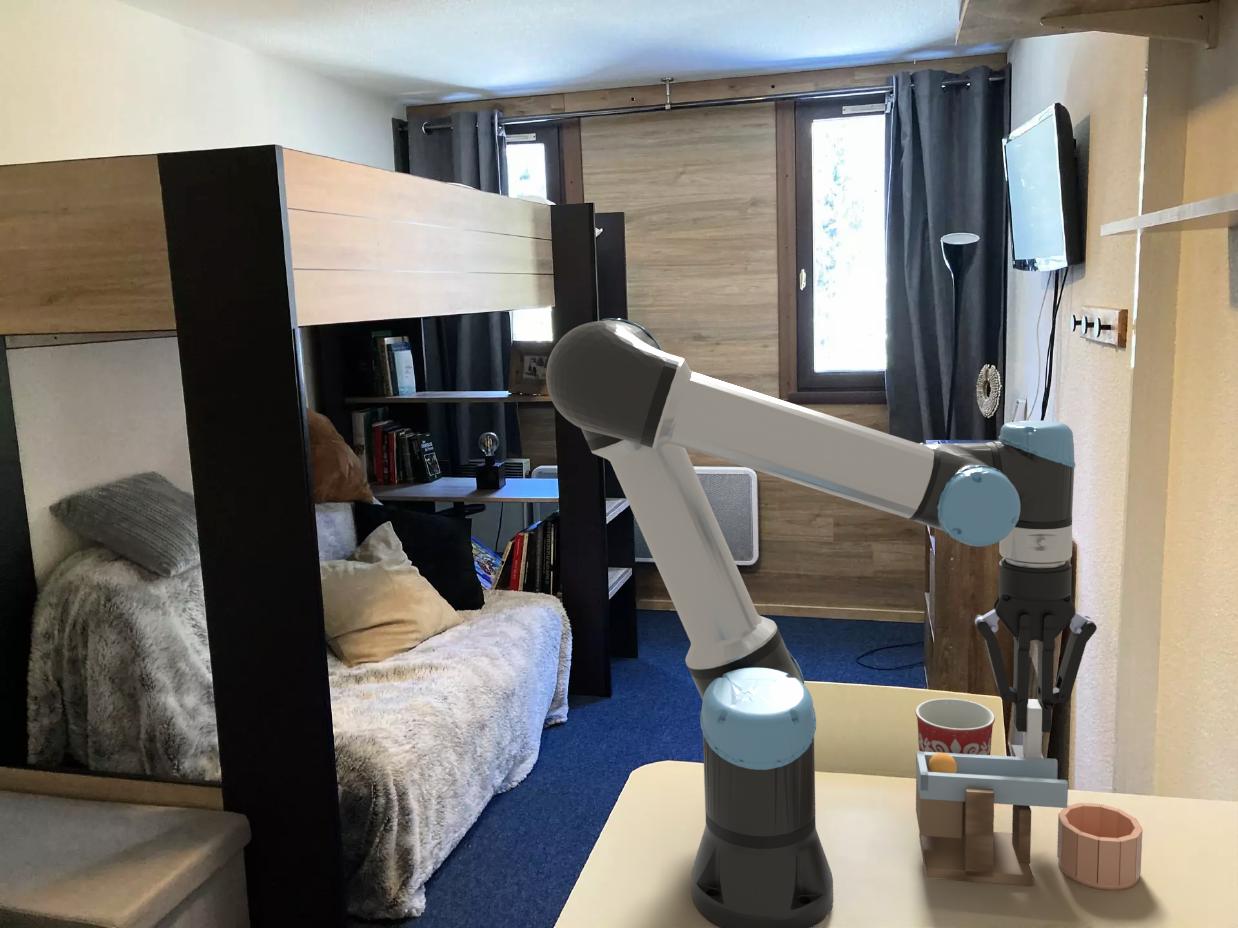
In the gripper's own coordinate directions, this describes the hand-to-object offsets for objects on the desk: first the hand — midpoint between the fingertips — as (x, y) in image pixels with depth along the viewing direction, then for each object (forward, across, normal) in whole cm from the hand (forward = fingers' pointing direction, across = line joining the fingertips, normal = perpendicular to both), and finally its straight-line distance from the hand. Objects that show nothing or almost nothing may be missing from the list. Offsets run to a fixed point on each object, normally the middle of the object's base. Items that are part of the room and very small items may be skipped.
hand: (1031, 756), depth 115 cm
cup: (+10, +6, -6) cm, 13 cm away
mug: (+10, -8, +5) cm, 14 cm away
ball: (-1, -11, -6) cm, 13 cm away
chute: (+6, -6, -3) cm, 9 cm away
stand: (+10, -7, -6) cm, 14 cm away
